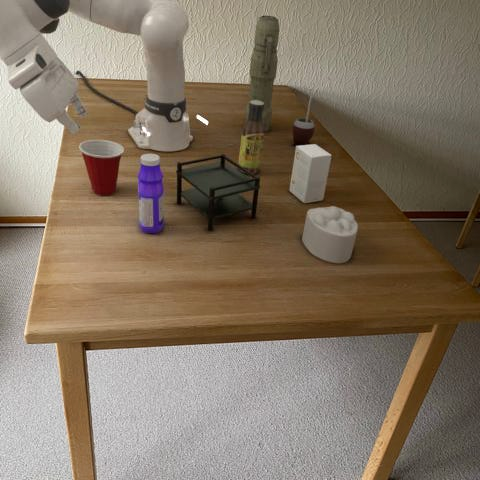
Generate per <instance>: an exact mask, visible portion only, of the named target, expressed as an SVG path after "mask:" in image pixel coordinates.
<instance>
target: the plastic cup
mask: <svg viewBox="0 0 480 480" xmlns="http://www.w3.org/2000/svg"><path fill="white" fill-rule="evenodd" d="M78 148H79V150H80V152H81V155H82V159H83V161H84V165H85V168H86V173H87V177H88V179H89V182H90V187H91V189H92V192H93V193H94V194H96V195H97V196H110V195H113V194H115V193H116V190H117V184H118V179H119V171H120V163H121V158H122V155H123V154H124V152H125V148H124V147H123V145H122V144H120V143H118V142H115V141H111V140H107V139H89V140H84V141H83V142H80V143H79V146H78Z"/></svg>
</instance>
